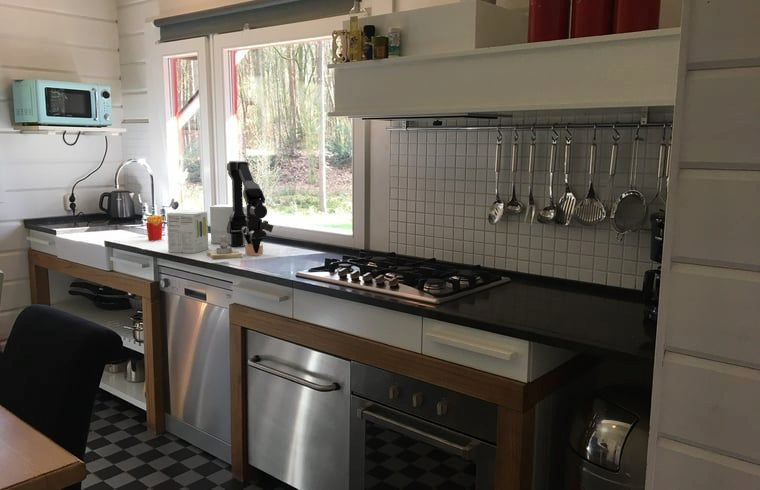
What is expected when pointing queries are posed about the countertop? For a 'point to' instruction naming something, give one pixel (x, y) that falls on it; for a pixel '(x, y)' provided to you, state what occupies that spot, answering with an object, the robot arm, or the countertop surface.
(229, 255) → the post stand
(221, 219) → the supplement box
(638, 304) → the countertop surface
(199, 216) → the supplement box
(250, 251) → the ring
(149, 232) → the french fries
